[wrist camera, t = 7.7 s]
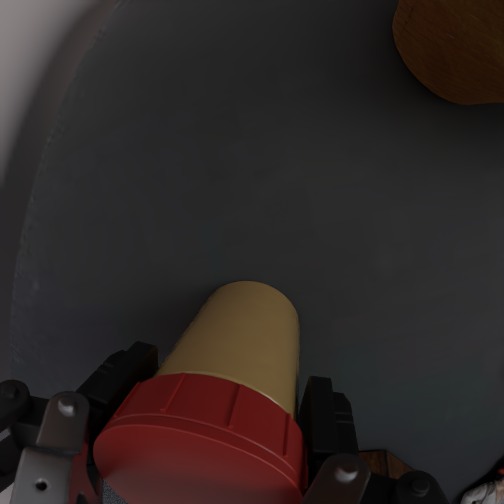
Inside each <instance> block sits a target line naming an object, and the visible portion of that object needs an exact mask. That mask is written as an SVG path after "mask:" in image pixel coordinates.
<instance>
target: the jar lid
mask: <svg viewBox="0 0 504 504" xmlns="http://www.w3.org/2000/svg"><path fill="white" fill-rule="evenodd" d="M93 458H94V461H95V464H96V466H97V468H98V470H99V472H100V473H101V475H102V477H103V478H104V480H105V481H106V482H107V483H108V485H109V486H110V487H111V488H112V489H113V490H114V491H115V492H116V493H117V494H118V495H119V496H121V497H122V498H123V499H124V500H125V501H127V502H128V503H129V504H299V503H300V501H301V500H302V498H303V497H304V491H305V489H308V468H309V467H308V465H307V447H306V445H305V440H304V437H303V434H302V432H301V430H300V428H299V427H298V425H297V424H296V422H295V421H294V419H293V418H292V415H291V414H290V413H287V412H286V411H285V410H284V409H283V408H282V407H280V406H279V405H278V404H277V403H275V402H274V401H272V400H271V399H269V398H268V397H266V396H264V395H262V394H261V393H259V392H257V391H255V390H253V389H251V388H248V387H246V386H245V385H243V384H238V383H235V382H232V381H230V380H226V379H222V378H218V377H214V376H209V375H202V374H191V373H185V372H181V373H176V374H167V375H161V376H157V377H154V378H151V379H148V380H146V381H144V382H142V383H140V382H137V384H136V385H135V386H134V388H133V389H132V390H131V392H130V393H129V394H128V396H127V397H126V398H125V400H124V401H123V402H122V404H121V405H120V406H119V408H118V409H117V410H116V412H115V413H114V415H113V416H112V417H111V419H110V420H109V421H108V423H107V424H106V426H105V427H104V428H103V430H102V431H101V432H100V434H99V435H98V436H97V438H96V440H95V442H94V446H93Z"/></svg>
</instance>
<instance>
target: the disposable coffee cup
mask: <svg viewBox="0 0 504 504" xmlns="http://www.w3.org/2000/svg"><path fill="white" fill-rule="evenodd" d="M392 28H393V37H394V41H395V45H396V47H397V49H398V51H399V53H400V55H401V57H402V60H403V61H404V63H405V64H406V66H407V67H408V69H409V70H410V71H411V72H412V74H413V75H414V76H415V77H416V78H417V79H418V80H419V81H420V82H421V83H422V84H423V85H424V86H426V87H427V88H428V89H429V90H430V91H432V92H433V93H435V94H436V95H438V96H439V97H441V98H443V99H446V100H448V101H450V102H453V103H457V104H460V105H475V104H486V103H503V102H504V0H399V2H398V5H397V9H396V12H395V15H394V18H393V24H392Z"/></svg>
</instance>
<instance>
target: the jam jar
mask: <svg viewBox="0 0 504 504" xmlns="http://www.w3.org/2000/svg"><path fill="white" fill-rule="evenodd" d="M299 371H300V322H299V318H298V315H297V312H296V310H295V308H294V306H293V305H292V303H291V302H290V301H289V300H288V299H287V297H286V296H284V295H283V294H282V293H281V292H280V291H278V290H276V289H275V288H273V287H271V286H269V285H266V284H263V283H259V282H255V281H238V282H233V283H230V284H227V285H225V286H222V287H221V288H219V289H218V290H216V291H215V292H214V293H213V294H212V295H211V296H210V297H209V298H208V299H207V301H206V302H205V303H204V305H203V306H202V308H201V309H200V310H199V312H198V313H197V315H196V316H195V317H194V319H193V320H192V322H191V323H190V324H189V326H188V327H187V329H186V330H185V332H184V333H183V334H182V336H181V337H180V339H179V340H178V341H177V343H176V344H175V346H174V347H173V348H172V350H171V351H170V353H169V354H168V356H167V357H166V358H165V360H164V361H163V363H162V364H161V365H160V367H159V368H158V370H157V371H156V373H155V374H154V375H153V377H152V378H154V377H157V376H161V375H167V374H176V373H181V372H185V373H191V374H202V375H209V376H214V377H218V378H222V379H226V380H230V381H232V382H235V383H238V384H243V385H245V386H246V387H248V388H251V389H253V390H255V391H257V392H259V393H261V394H262V395H264V396H266V397H268V398H269V399H271V400H272V401H274V402H275V403H277V404H278V405H279V406H280V407H282V408H283V409H284V410H285V411H286V412H287V413H290V414H291V415H292V418H293V419H294V421H295V422H296V424H297V425H298V407H299Z"/></svg>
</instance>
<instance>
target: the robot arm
mask: <svg viewBox="0 0 504 504" xmlns="http://www.w3.org/2000/svg"><path fill="white" fill-rule="evenodd" d="M157 370H158V349H157V346H155V345H151V344H147V343H143V342H140V341H136V342H135V343H134V344H133V345H132V346H131V347H130V348H129V349H128V350H127V351H124V350H120V351H118V352H116V353H114V354H112V355H110V356H109V357H108V358H107V359H106V360H105V361H104V362H103V365H102V364H101V365H100V367H99V368H98V369H97V371H95V372H94V373H93V374H92V375H91V376H90V377H89V378H88V379H87V380H86V381H85V382H84V383H83V384H82V385H81V386H80V387H79V388H78V389H77V390H76V392H73V391H64V392H60V393H57V394H55V395H54V396H53V397H52V398H51V399H50V400H49V399H44V398H39V397H34V396H30V393H29V390H28V387H27V386H26V385H25V384H24V383H23V382H21V381H18V380H6V381H3V382H1V383H0V433H1V432H2V431H4V430H5V429H8V431H9V433H10V435H9V436H7V437H6V438H5V439H3V440H2V441H0V493H1V492H2V491H3V490H4V489H6V488H7V487H8V486H10V485H11V484H12V483H13V482H14V486H13V490H12V495H11V500H10V504H103V477H102V475H101V473H100V472H99V470H98V468H97V466H96V464H95V461H94V458H93V446H94V442H95V440H96V438H97V436H98V435H99V434H100V432H101V431H102V430H103V428H104V427H105V426H106V424H107V423H108V421H109V420H110V419H111V417H112V416H113V415H114V413H115V412H116V410H117V409H118V408H119V406H120V405H121V404H122V402H123V401H124V400H125V398H126V397H127V396H128V394H129V393H130V392H131V390H132V389H133V388H134V386H135V385H136V384H137V382H140V383H142V382H144V381H146V380H148V379H151V378H152V377H153V375H154V374H155V373H156V371H157ZM353 423H354V421H353V416H352V410H351V404H350V402H349V401H348V399H347V398H346V397H345V395H344V394H343V393H336V392H333V390H332V382H331V378H326V377H317V376H309V379H308V382H307V385H306V389H305V392H304V396H303V399H302V403H301V406H300V410H299V415H298V427H299V428H300V430H301V432H302V434H303V437H304V440H305V445H306V447H307V465H308V467H309V468H308V489H305V491H304V497H303V498H302V500H301V501H300V503H299V504H449V502H448V500H447V499H446V497H445V495H444V493H443V491H442V490H441V488H440V486H439V484H438V482H437V481H436V479H435V478H434V477H433V476H431V475H430V474H428V473H426V472H423V471H417V470H416V471H409V472H406V473H404V474H403V475H401V476H400V478H399V479H395V478H391V477H386V476H382V475H379V474H376V473H374V472H372V471H370V468H369V466H368V465H367V463H366V462H365V461H364V460H363V459H361V458H360V457H359V451H358V445H357V439H356V432H355V427H354V424H353Z"/></svg>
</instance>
